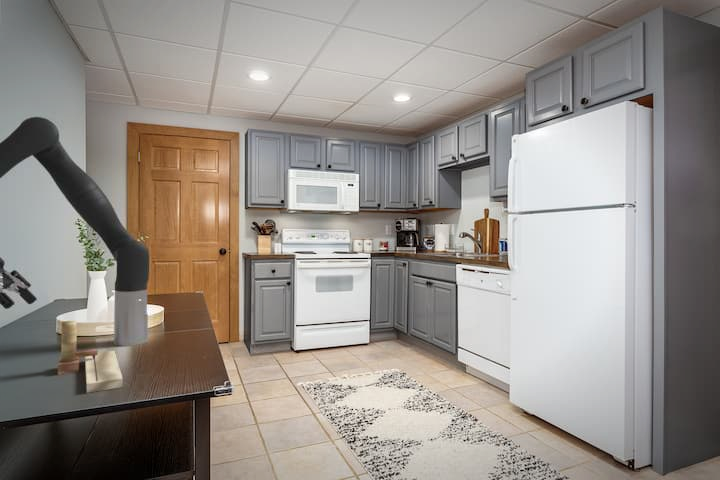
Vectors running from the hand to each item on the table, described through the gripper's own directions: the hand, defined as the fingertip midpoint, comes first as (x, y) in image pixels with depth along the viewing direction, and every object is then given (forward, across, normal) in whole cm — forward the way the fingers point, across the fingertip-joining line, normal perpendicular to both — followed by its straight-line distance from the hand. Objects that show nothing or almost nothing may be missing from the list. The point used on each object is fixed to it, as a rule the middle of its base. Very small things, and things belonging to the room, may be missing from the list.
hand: (22, 304), depth 107 cm
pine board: (+27, -3, -4) cm, 27 cm away
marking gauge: (+22, +1, +2) cm, 22 cm away
